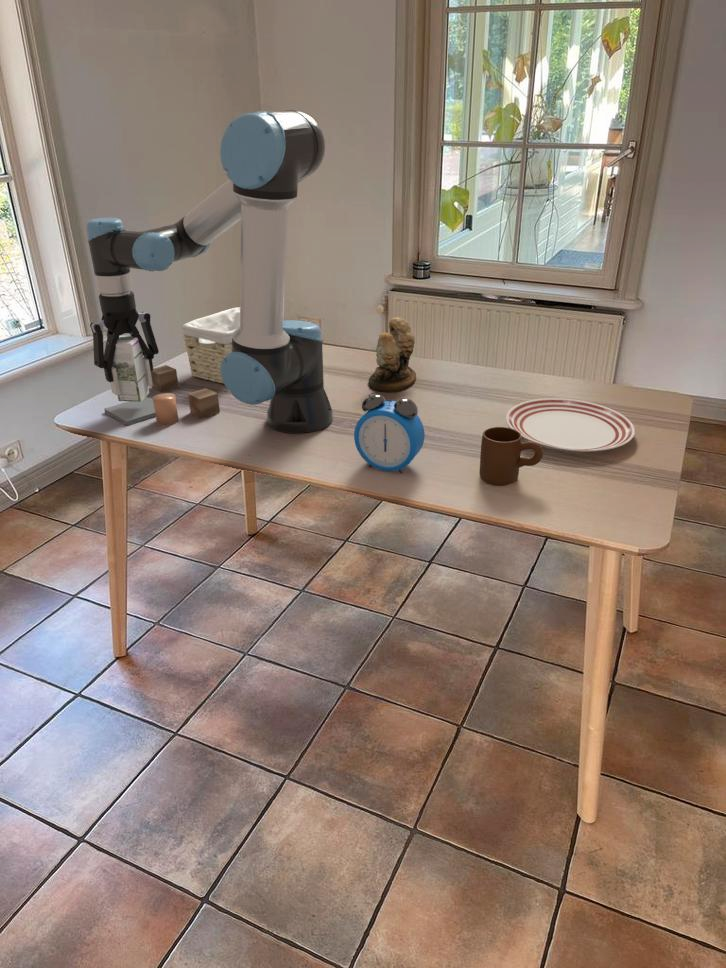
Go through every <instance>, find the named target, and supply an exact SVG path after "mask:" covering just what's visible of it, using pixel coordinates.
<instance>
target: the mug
mask: <svg viewBox="0 0 726 968" xmlns="http://www.w3.org/2000/svg"><path fill="white" fill-rule="evenodd" d="M522 438H523V437H522V436H521V434H520V432H518V431H517V430H514V429H511V428H510V427H507V426H506V427H505V426H493V427H490V428H487V429H485V430H484V431H483V432H482V437H481V445H480V456H479V457H480V458H479V459H480V461H479V477H480V479H481V481H483V482H484V483H486V484H488V485H491V486H494V487H495V486H496V487H505V486H510V485H513V484H514V483H516V482H517V480H518V478H519V474H520V468H523V467H524V466H526V467H532V466H535V465H537V464H539V463H540V462H541V461H542V459H543V456H544V451H543V446H541V445H539V444H538V443H536V442H533V441H529V440H527V441H522ZM528 450H532V451H534V454H533V456H531V457H530V456H522V455H521V454H522V451H528Z"/></svg>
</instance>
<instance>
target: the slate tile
mask: <svg viewBox="0 0 726 968" xmlns="http://www.w3.org/2000/svg"><path fill="white" fill-rule="evenodd" d="M105 412H106V413H105ZM104 413H105V414H106V415H108V414H109V415H108V416H110V417H112V418H113V417H114V418H113V419H116V420H117V421H118V422H120V423H122V424H124V425H126V426H129V425H133V424H136V423H140V422H142V421H145V420H149V419H152V418H156V415H155V408H154V402H153V399H151V398H150V397H148V396H146V397H145V398H144V399H143V400H142V401H141V402H136V401H124V402H122V403H119V404H116V405H112V406H109V407H105V408H104Z"/></svg>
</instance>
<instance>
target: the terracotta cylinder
mask: <svg viewBox="0 0 726 968" xmlns="http://www.w3.org/2000/svg"><path fill="white" fill-rule="evenodd" d="M152 400H153V402H154V408H155V415H156V417H155V419H156V424H157V425H158V426H159V425H160V426H165V427H166V426H167V427H168V426H171V425H174V424H177V423H178V422H179V421H180V420H179V414H178V406H177V399H176V394H174V393H169V392H168V393H167V392H162V393H158V394H156V395H154V396H153V397H152Z"/></svg>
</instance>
